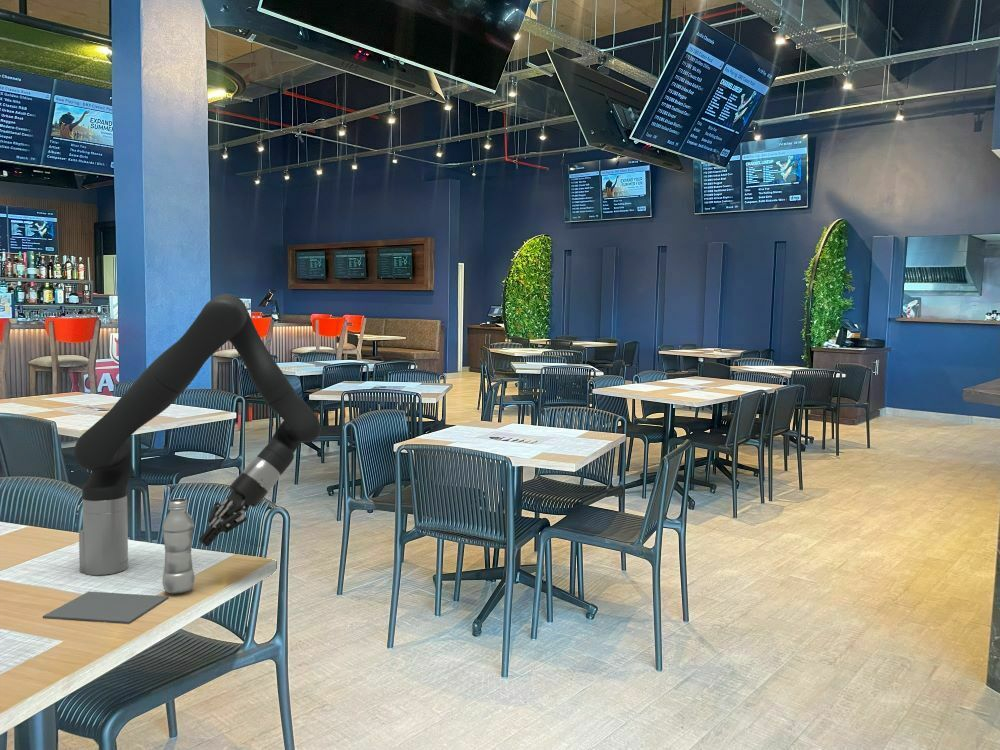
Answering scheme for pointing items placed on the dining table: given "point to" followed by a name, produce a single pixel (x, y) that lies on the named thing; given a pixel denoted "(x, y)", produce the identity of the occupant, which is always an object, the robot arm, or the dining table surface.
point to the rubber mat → (107, 607)
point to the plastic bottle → (178, 548)
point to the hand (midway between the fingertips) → (202, 543)
